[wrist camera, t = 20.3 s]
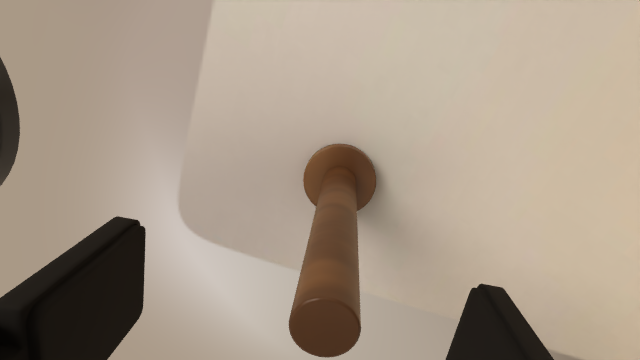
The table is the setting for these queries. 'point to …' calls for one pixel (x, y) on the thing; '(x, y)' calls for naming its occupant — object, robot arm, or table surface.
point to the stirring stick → (332, 252)
